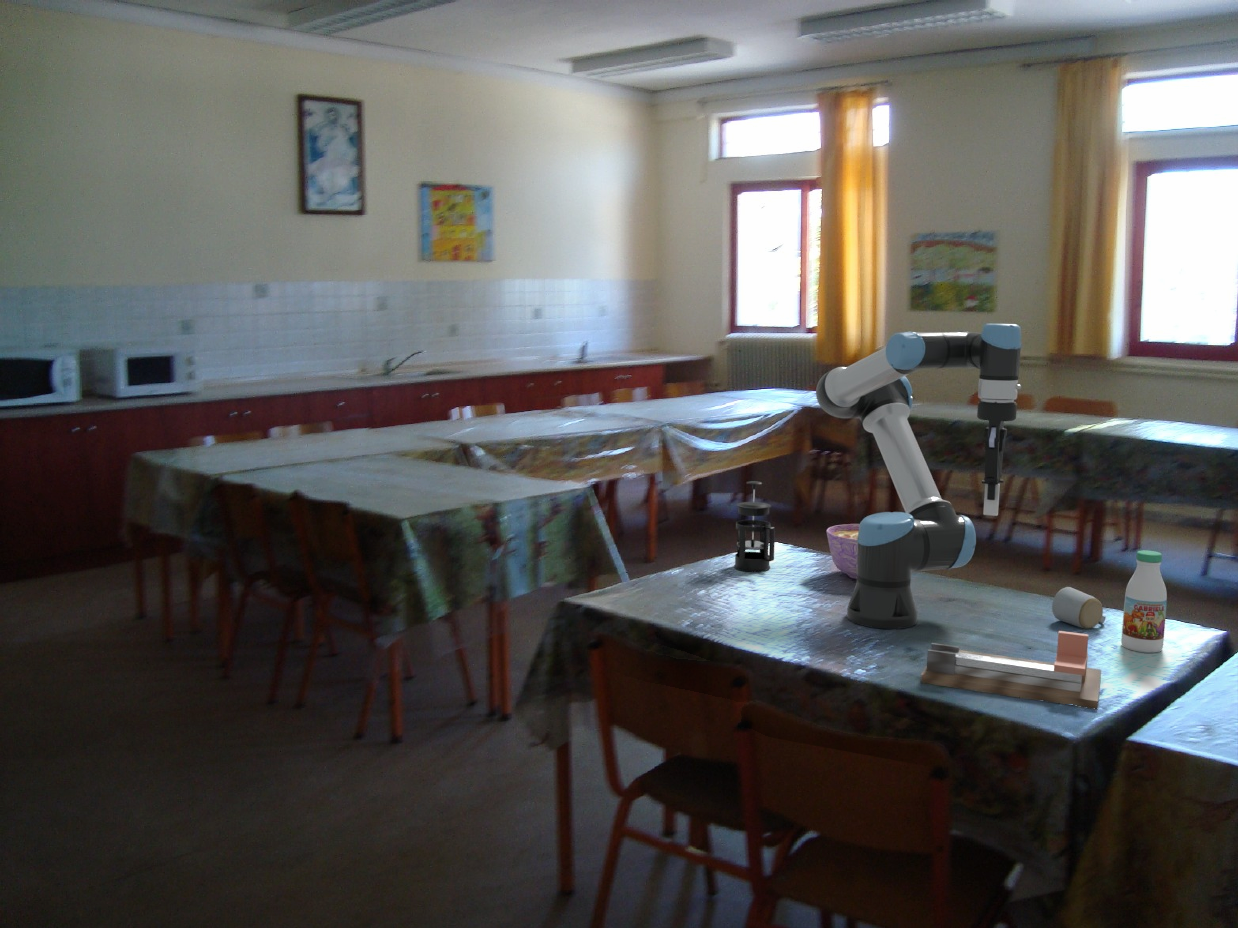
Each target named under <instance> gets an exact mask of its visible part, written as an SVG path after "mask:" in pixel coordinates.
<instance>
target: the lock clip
mask: <svg viewBox="0 0 1238 928" xmlns="http://www.w3.org/2000/svg"><path fill="white" fill-rule="evenodd" d="M1057 636H1058V637H1057V645H1056V646H1057V650H1056V657H1055V660H1054V663H1055V664H1054V671H1056V672H1063V673H1070V674H1077V675H1085V668H1086V661H1087V662H1088V658H1087V652H1088V647H1089V645H1088V644H1089V634H1086V633H1082V632H1081V633H1078V632H1072V631H1064V630H1058V633H1057Z"/></svg>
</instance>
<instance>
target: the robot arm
mask: <svg viewBox="0 0 1238 928" xmlns="http://www.w3.org/2000/svg"><path fill="white" fill-rule="evenodd" d="M1021 328H1022V327H1021V326H1019V325H1018V324H1016V323H985V324H984V325H983V326H982V329H981V332H974V331H970V330H969V331H968V330H965V331H963V330H959V331H951V332H950V331H947V332H946V331H941V332H935V331H934V332H933V331H930V332H929V331H928V332H927V331H924V332H923V331H917V332H916V331H905V332H896V333H893V334H892V335H891V336H890V337H889V340H887V343H886V346H885V347H883V348H880V350H878V351H875V352H873V353H872V354H870V355H868V356H866V357H864V358H862V359H860V360H857V361H856V362H854V363H852V364H850V365H848V366H846V367H845V366H838V367H836V368H833V369H832V370H829V371H828V372H827V371H826V373H825V374H824V375H822V376H821V378H819V380H818V382H817V385H816V389H815V396H816V400H817V403H818V405H819V407H820V408H821V409H822V410H823V411H824V412H826V413H827V415H829V416H832V417H835V418H838V419H839V418H840V419H859V420H860V423H862V424H861V425H862V427H863V429H864V430H865V431H866V432H868V433H871V434H873V438H874V439H875V442H876V444H877V447H878V449H879V451H880V453H881V456H882V459H883V461H884V464H885V466H886V468H887V471H888V473H889V475H890V478H891V481H892V483H893V485H894V488H895V490H896V493H897V495H898V498H899V500H900V502H901V504H902V508H903V510H904V512H903V511H893V512H891V511H883V512H877V513H873V514H870V515H867V516H866V517H865V516H864V518H863V519H862V520H861V521H860V523H859V524H860V525H859V532H858V537H857V541H858V557H857V579H856V583H855V587H854V588H853V592H852V594H851V596H850V599H849V602H848V604H847V608H846V609H847V610H846V617H847V618H846V619H848V621H851V622H852V623H855V624H857V625H860V626H864V627H869V628H875V629H886V630H888V629H889V630H890V629H893V630H897V629H905V628H910V627H912V626H914V625H916V624H917V623H918V610H917V608H918V607H917V605H916V602H915V598H914V595H913V591H912V588H911V585H912V582H911V581H912V572H925V571H934V570H935V571H936V570H946V571H947V570H952V569H954V568H955V569H956V568H961V567H964V566H966V565H967V564H968V563H969V562H970V561H971V559H972V558H973V555H974V553H975V548H976V545H977V535H976V529H975V526H974V523H973V522H972V520H971V518H969V516H966V515H962V514H958V515H957V514H956V511H955V508H954V507H953V504H952V503H951V502H950V501H949V500H945V499H942V496H941V495H940V492H939V489H938V487H937V485H936V481H934V479H933V476H932V473H931V471H930V468H929V467H928V464H927V462H926V460H925V458H924V454H923V453H922V450H921V449H920V446H919V444H918V441H917V439H916V437H915V434H914V432H913V430H912V427H911V425H910V423H909V420H908V419H909V416H910V415H911V409H912V408H913V404H914V403H913V402H914V397H913V396H912V395H913V388H912V385H911V382H910V381H909V379H908V378H907V376H908V375H911V374H913V373H915V372H918V371H920V370H927V369H928V370H929V369H937V370H938V369H978V370H979V375H978V376H979V378H978V387H977V389H978V391H977V397H978V398H979V399H980V400H979V401H978V402H977V409H976V410H977V413H976V417H977V419H978V420H981V421H988V427H986V428H985V429H984V436H983V437H984V450H985V454H984V455H985V457H984V462H985V463H984V477H983V479H982V480H981V484H983V485H984V498H983V512H982V513H983V514H982V515H984V516H993V517H995V516H996V517H997V516H998V515H999V503H1000V491H1001V490H1000V488H1001V487H1000V486H1001V485H1000V484H1004V482H1005V481H1004V480H1005V479H1001V478H1002V470H1003V469H1002V467H1003V457H1004V449H1005V445H1006V437H1007V436H1008V435H1007V433H1008V429H1007V428H1004V422H1012V421H1015V420H1017V419H1016V418H1017V411H1018V410H1017V409H1018V408H1017V407H1018V404H1017V402H1016V401H1015V400H1017V399H1018V390H1021V389H1022V385H1021V384H1018V383H1019V375H1020V364H1021V363H1020V360H1021V349H1022V345H1023V344H1022V329H1021Z"/></svg>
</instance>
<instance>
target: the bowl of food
mask: <svg viewBox="0 0 1238 928" xmlns="http://www.w3.org/2000/svg"><path fill="white" fill-rule="evenodd" d="M859 525H860V523H850V524H849V523H848V524H845V523H844V524H838V525H833V526H829V527H828V528H827V529H826V536H827V541H828V546H829V551H830V555H831V559H832V562H833V564H834V565H835V567H836V568H837V569H838V570H839V571H840V572H842V573H844V574H846V575H848V577H850V578H851V579H854V580H857V557H858V541H857V537H858V532H859Z"/></svg>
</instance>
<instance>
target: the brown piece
mask: <svg viewBox="0 0 1238 928" xmlns="http://www.w3.org/2000/svg"><path fill="white" fill-rule="evenodd" d="M930 646H931V647H930V649H927V653H926V666H925V668H924V670H923V671H922V672H921V674H920V683H921V684H922V683H923V684H928V685H934V686H940V687H941V686H942V687H949V688H954V689H961V690H967V689H971V690H970V691H973V690H976V691H975V692H980V691H982V692H981V693H987V694H993V693H995V694H994V695H999V694H1000V696H1006V697H1014V698H1019V697H1020V699H1024V700H1025V699H1028V700H1033V701H1038V700H1043V701H1042V702H1045V701H1048V702H1047V703H1051V702H1054V703H1053V704H1058V703H1060V704H1059V705H1065V704H1073V705H1077V706H1076V707H1078V706H1081V707H1080V708H1084V707H1087V708H1086V709H1091V708H1095V709H1094V710H1098V709H1097V708H1098V706H1099V700H1100V699H1099V698H1100V689H1101V677H1102V669H1098V668H1092V667H1088V660H1087V661H1086V668H1085V675H1082V679H1081V683H1078V682H1071V681H1064V680H1057V679H1050V678H1043V677H1036V676H1030V675H1023V674H1016V673H1009V672H1002V671H995V670H988V669H982V668H975V667H968V666H961V665H955V659H956V653H951V652H944V650H946V651H953V652H960V653H967V654H974V655H981V656H989V657H996V658H1003V659H1010V660H1017V661H1024V662H1031V663H1038V664H1045V665H1052V666H1054V664H1055V662H1048V661H1042V660H1041V661H1040V660H1034V659H1027V658H1021V657H1020V658H1019V657H1013V656H1005V655H998V654H990V653H983V652H977V651H969V650H962V649H960V646H957V645H951V644H943V643H937V642H931V645H930ZM1088 655H1089V652H1088V651H1087V659H1088V658H1089V656H1088Z"/></svg>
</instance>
